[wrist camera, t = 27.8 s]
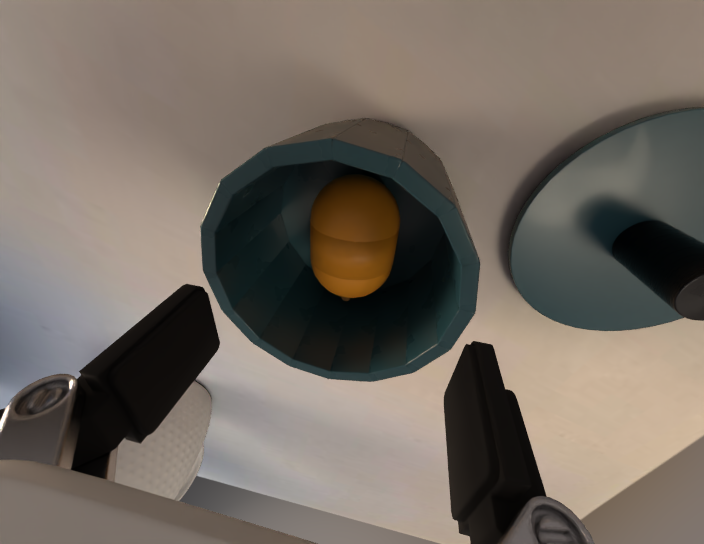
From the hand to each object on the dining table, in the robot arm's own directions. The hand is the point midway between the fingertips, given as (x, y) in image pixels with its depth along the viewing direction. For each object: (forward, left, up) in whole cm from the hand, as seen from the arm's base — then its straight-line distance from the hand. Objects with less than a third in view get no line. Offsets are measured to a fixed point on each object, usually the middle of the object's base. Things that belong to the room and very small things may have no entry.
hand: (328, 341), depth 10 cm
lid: (-10, +12, -11) cm, 19 cm away
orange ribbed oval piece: (0, -1, -11) cm, 11 cm away
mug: (+34, -3, -12) cm, 36 cm away
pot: (0, -1, -12) cm, 12 cm away
